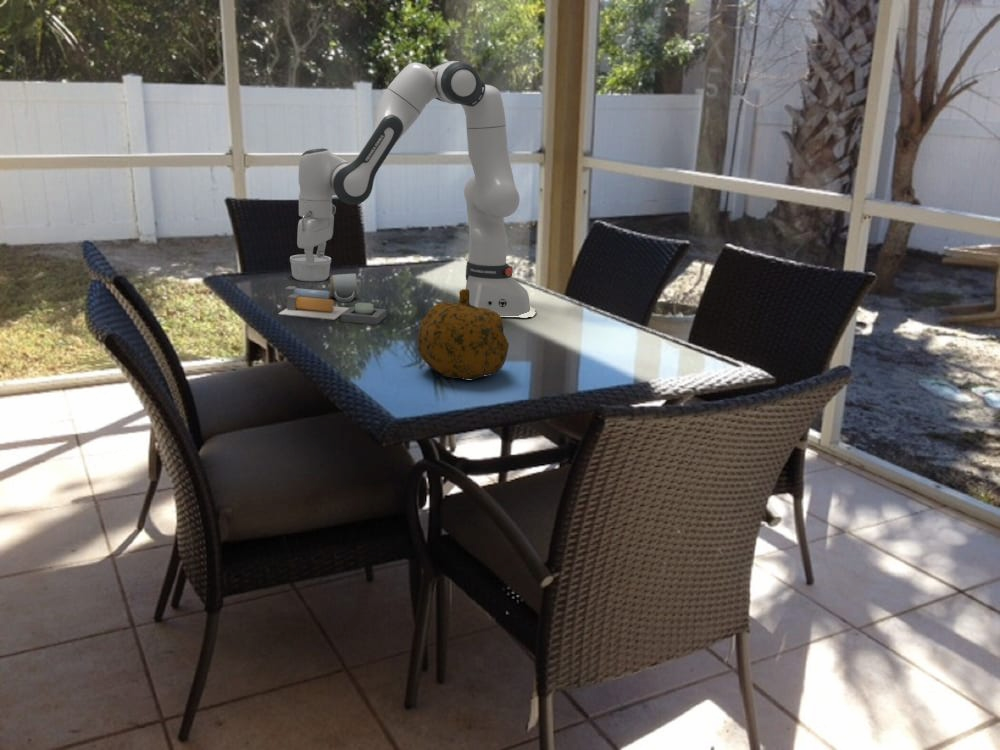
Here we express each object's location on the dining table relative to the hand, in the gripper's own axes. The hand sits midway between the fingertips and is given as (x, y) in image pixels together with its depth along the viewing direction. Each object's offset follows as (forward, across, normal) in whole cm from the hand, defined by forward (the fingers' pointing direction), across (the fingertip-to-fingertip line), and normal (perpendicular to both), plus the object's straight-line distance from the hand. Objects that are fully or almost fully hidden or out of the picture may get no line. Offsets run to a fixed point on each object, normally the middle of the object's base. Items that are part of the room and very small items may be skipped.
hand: (315, 260), depth 261 cm
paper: (+15, 0, 0) cm, 15 cm away
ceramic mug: (+15, +19, -3) cm, 25 cm away
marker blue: (+15, +12, +6) cm, 20 cm away
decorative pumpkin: (+15, -45, -50) cm, 69 cm away
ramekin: (+15, +44, +16) cm, 49 cm away
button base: (+15, -3, -15) cm, 21 cm away
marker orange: (+14, 0, +1) cm, 14 cm away
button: (+13, -3, -15) cm, 20 cm away
